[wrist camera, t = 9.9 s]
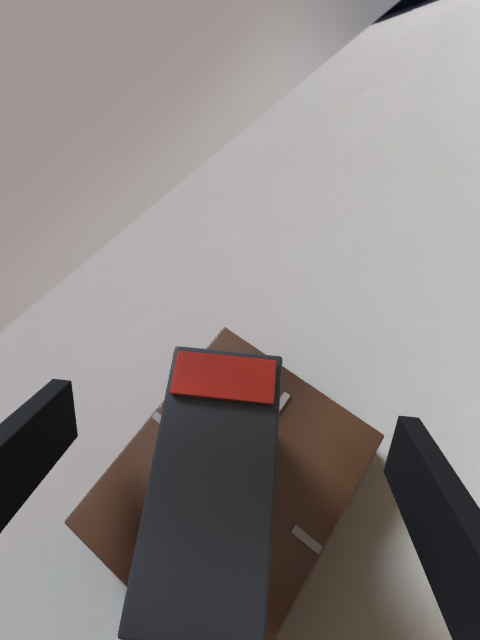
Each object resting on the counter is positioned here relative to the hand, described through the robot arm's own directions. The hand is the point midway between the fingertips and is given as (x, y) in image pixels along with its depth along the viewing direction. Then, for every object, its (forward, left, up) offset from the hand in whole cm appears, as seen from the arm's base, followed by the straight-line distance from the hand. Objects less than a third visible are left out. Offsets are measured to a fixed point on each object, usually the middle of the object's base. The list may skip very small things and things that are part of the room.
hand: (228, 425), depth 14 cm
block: (+1, -1, -3) cm, 4 cm away
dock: (+1, -1, -6) cm, 7 cm away
